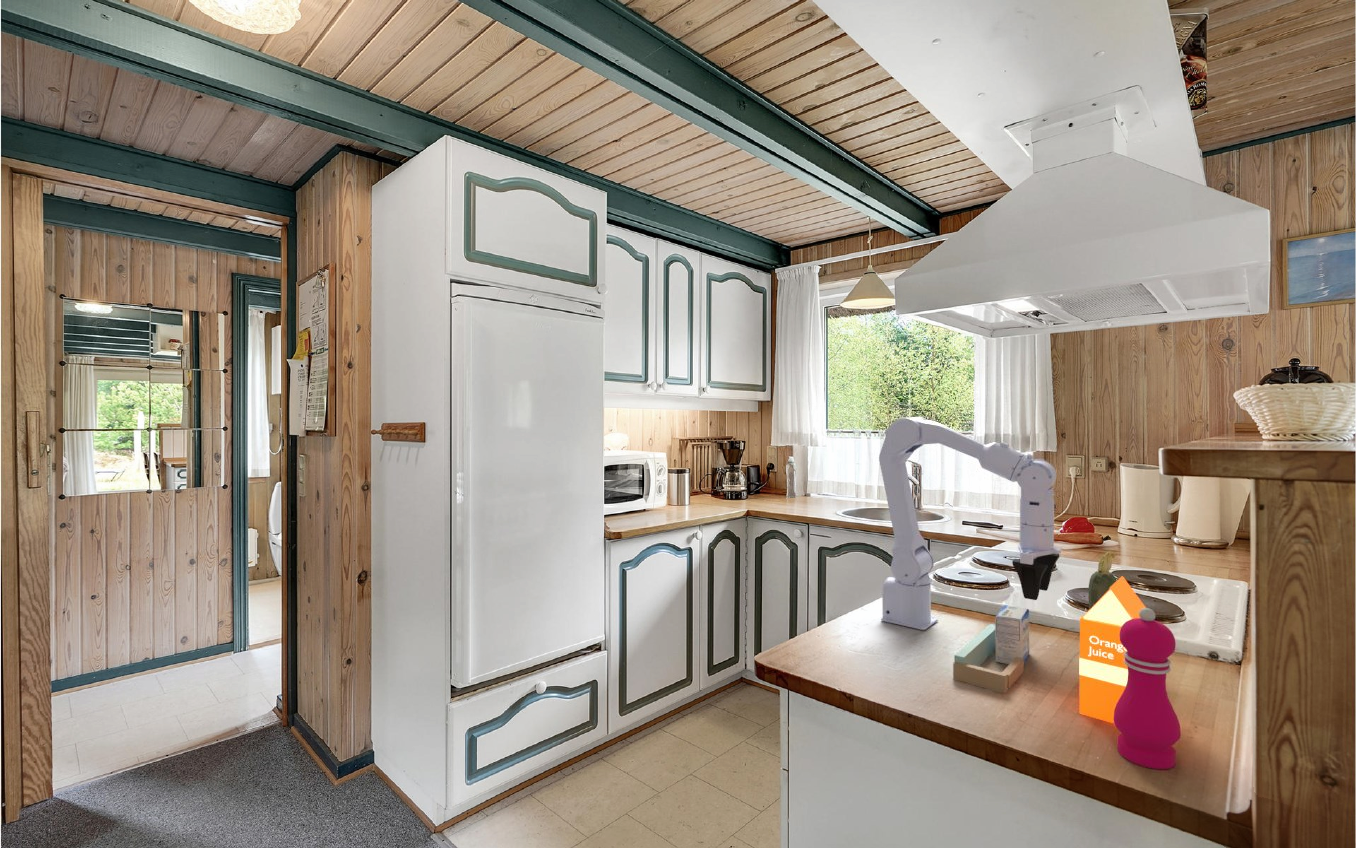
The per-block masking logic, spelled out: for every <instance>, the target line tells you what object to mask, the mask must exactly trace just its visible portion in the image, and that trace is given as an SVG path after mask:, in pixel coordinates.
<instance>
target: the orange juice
mask: <svg viewBox="0 0 1356 848" xmlns="http://www.w3.org/2000/svg"><path fill="white" fill-rule="evenodd" d="M1116 580H1117V581H1116V582H1115V583H1114V584H1113V585H1112V586H1111V587H1110V590H1109V591H1108V592H1107V593H1106V594H1105V595H1104V596H1103V597H1102V598H1101V599H1100V600H1099V601H1098V602H1097V603H1096V604H1095V605H1094V606H1093V607H1092V608H1091V609H1090V610H1089V609H1088V611H1087V612H1085V614H1084V615H1083V616H1081V617H1080V618H1079V662H1078V663H1079V664H1078V666H1079V667H1078V669H1079V670H1078V671H1079V672H1078V675H1079V710H1078V711H1079V714H1081V715H1083V716H1087V717H1090V718H1093V719H1097V720H1101V721H1104V722H1107V723H1111V724H1114V720H1113V717H1114V709H1115V707H1116V704H1117V702H1118V700H1119V698H1120V697H1121V695H1122V693H1123V691H1124V689H1125V687H1126V684H1127V679H1128V667H1127V665H1126V664H1125V663H1124V659H1125V657H1124V652H1126V651H1127V650H1126V649H1125V648H1124V646H1123V645H1122V644H1121V642H1120V637H1119V634H1120V629H1121V627H1122V625H1123V624H1124V623H1125V622H1126V621H1128V620H1130V619H1134V618H1140V616H1139V611H1140V610H1141V609H1143V608H1147V607H1146V606H1145V604H1144V603H1143V602H1142V601H1141V599H1140V597H1139V596H1138V595H1137V594H1136V592H1135V591H1134V589H1133V588H1132V586H1130V584H1129V583H1128V581H1127V580H1126V579H1125V577H1124V576H1123V575H1122V576H1121V577H1119V578H1118V579H1116Z"/></svg>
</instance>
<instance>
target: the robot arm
mask: <svg viewBox="0 0 1356 848" xmlns="http://www.w3.org/2000/svg"><path fill="white" fill-rule="evenodd" d="M884 435H885V436H884V437H885V438H884V439H883V444H882V447H881V449H880V451H879V455H878V461H879V466H880V470H881V477H882V480H883V485H884V486H883V487H884V491H885V495H886V500H887V506H888V510H889V511H888V512H889V515H890V521H891V526H892V530H893V535H894V540H893V543H892V547H891V553H892V560H891V564H890V571H891V574H892V575H893V576H889V577H887V578H886V579H885V581H884V582H883V586H882V597H881V598H882V617H881V618H880V620H881V621H882V622H886V623H890V624H895V625H899V626H903V627H908V628H912V629H917V630H919V631H920V630H921V631H925V630H927V629H929V628H930V627H931V626H932V625H934V624H935V623H937V622H938V621H939V618H938V617H935V616H932V615H931V614H932V611H931V607H932V606H931V605H932V604H931V602H932V601H931V599H932V598H931V597H932V594H931V591H932V589H931V583H932V582H931V578H930V575H929V573H930V572H931V571H932V570H933V568H934V564H935V559H934V557H933V555H932V553H931V552H930V551H929V549H928V547H927V543H926V540H925V538H924V537H923V536H922V535H921V533H920V529H919V528H920V527H919V523H918V518H917V514H916V509H915V508H916V507H915V503H914V499H913V494H912V489H911V485H910V483H911V482H910V480H909V474H908V469H907V465H906V464H907V461H908V460H909V458H910V457H911V456H912V455H913V453H914V452H915V451H917V450H918V449H919V448H920V447H922V446H924V445H933V444H934V445H936V444H940V445H942V446H945V447H947V448H950V449H952V450H955V451H958V452H959V453H963V454H964V455H967V456H970V457H973V458H975V459H977V460H978V462H979V464H980V467H981V469H983V470H986V471H988V472H989V473H993V474H995V475H997V476H999V477H1001V478H1004V479H1006V480H1008V481H1010V482H1012V483H1015V482H1017V484H1018V486H1019V487H1020V499H1019V544H1018V546H1017V547H1018V548H1017V549H1018V551H1019V553H1020V554H1019V555H1020V556H1019V558H1014V559H1013V560H1012V561H1011V562H1012V566H1013V568H1014V569H1015V571H1016V574H1017V576H1018V578H1019V581H1020V586H1021V592H1022V595H1023V598H1024V599H1027V600H1033V601H1037V600H1038V598H1039V594H1040V591H1048V589H1049V586H1050V584H1051V583H1050V582H1051V577H1052V575H1053V574H1052V573H1053V570H1054V568H1055V565H1056V563H1057V561H1058V560H1059V558H1060V554H1061V552H1062V549H1061V548H1058V547H1055V546H1054V545H1055V537H1054V536H1055V500H1054V496H1055V491H1054V487H1052V486H1054V484H1055V482H1056V481H1057V471H1056V469H1055V467H1054V466H1053V465H1052V464H1051V463H1049V462H1048V461H1046V460H1045V459H1043V458H1042V459H1041V458H1040V459H1039V458H1037V459H1034V455H1033V454H1030V453H1028V454H1025V453H1022V452H1019V451H1017V450H1015V449H1012V448H1010V447H1009V446H1010V444H1009V443H1006V442H1004V441H1003V442H1002V441H1001V442H1000V443H999V442H996V441H994V442H991V443H988V444H985V443H983V442H981V441H978V440H976V439H974V438H972V437H970V436H967V435H966V434H963V433H961V432H959V431H958V430H955V429H953V428H951V427H949V426H947V425H944V424H942V423H940V422H937V421H935V420H932V419H931V420H930V419H929V420H928V419H926V418H925V417H922V416H912V417H900V418H898V419H896V420H894V421H893V422H892V423H891V424H890V425H889V427H887V429H885V432H884Z"/></svg>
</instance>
